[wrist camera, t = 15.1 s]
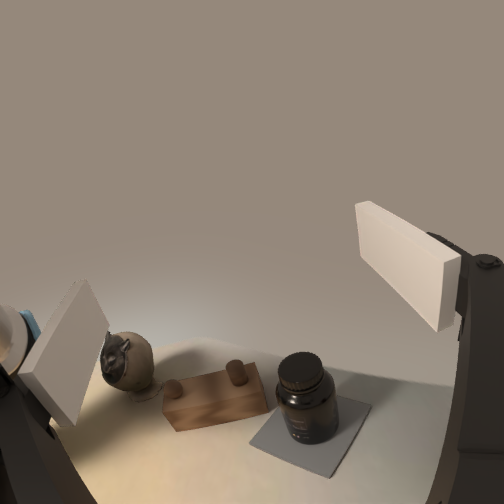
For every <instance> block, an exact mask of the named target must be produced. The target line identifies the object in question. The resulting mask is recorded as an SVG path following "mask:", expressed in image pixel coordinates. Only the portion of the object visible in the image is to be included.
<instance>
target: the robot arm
mask: <svg viewBox="0 0 504 504" xmlns="http://www.w3.org/2000/svg"><path fill="white" fill-rule="evenodd" d="M355 208H356V217H357V225H358V235H359V244H360V255H361V257H362V258H363V259H364V260H365V261H366V262H367V263H368V264H369V265H370V266H371V267H372V268H373V269H374V270H375V271H376V272H377V273H378V274H380V276H381V277H383V278H384V279H385V280H386V281H387V282H388V283H389V284H390V285H391V286H392V287H393V288H394V289H395V290H396V291H397V292H398V293H399V294H400V295H401V296H402V297H403V298H404V299H405V300H406V301H407V302H408V303H409V304H410V305H411V306H412V307H413V308H414V309H415V310H416V311H417V312H418V313H419V314H420V316H421V317H422V318H423V319H424V320H426V322H427V323H428V324H429V325H430V326H431V327H432V328H433V329H434V330H435V331H436V332H440V331H442V330H444V329H446V328H448V327H450V326H452V325H453V324H454V317H455V311H457V312H458V313H459V314H460V315H461V316H462V320H461V325H460V331H459V336H458V341H459V353H458V363H457V371H456V379H455V386H454V393H453V399H452V405H451V411H450V416H449V422H448V426H447V431H446V436H445V440H444V444H443V449H442V453H441V457H440V460H439V464H438V468H437V471H436V475H435V478H434V481H433V485H432V488H431V491H430V494H429V497H428V499H427V501H426V504H504V264H503V262H502V261H501V260H500V259H499V258H497V257H495V256H492V255H488V254H479V255H476V256H472V255H471V254H469V253H467V252H466V251H464V250H463V249H461V248H459V247H458V246H456V245H454V244H453V243H451V242H450V241H447V240H446V239H445V238H443V237H441V236H440V235H436V234H433V233H430V232H427V233H425V232H423V231H421V230H419V229H418V228H416V227H415V226H413V225H411V224H410V223H408V222H406V221H404V220H403V219H401V218H399V217H398V216H396V215H394V214H392V213H391V212H389V211H387V210H385V209H383V208H382V207H380V206H378V205H376V204H374V203H373V202H371V201H365V202H361V203H358V204H355ZM108 328H109V323H108V321H107V319H106V317H105V315H104V313H103V311H102V309H101V307H100V306H99V304H98V301H97V299H96V297H95V295H94V293H93V291H92V289H91V287H90V285H89V283H88V281H87V279H84V280H81V281H78V282H74V284H73V285H72V286H71V288H70V289H69V291H68V292H67V294H66V295H65V297H64V298H63V300H62V301H61V303H60V304H59V306H58V307H57V309H56V310H55V312H54V313H53V315H52V317H51V318H50V320H49V321H48V323H47V324H46V326H45V327H44V329H43V331H42V332H41V331H40V329H39V327H38V325H37V323H36V321H35V319H34V317H33V315H32V313H31V312H30V311H29V310H25V311H20V312H19V313H18V312H17V311H16V310H15V309H14V308H12V307H10V306H8V305H5V304H0V504H97V502H96V501H95V499H94V498H93V496H92V495H91V493H90V492H89V490H88V488H87V487H86V485H85V484H84V482H83V481H82V479H81V477H80V476H79V474H78V472H77V471H76V469H75V467H74V466H73V464H72V462H71V460H70V459H69V457H68V455H67V453H66V451H65V449H64V448H63V446H62V444H61V442H60V440H59V438H58V436H57V434H56V432H55V430H54V429H53V428H52V427H51V426H50V425H49V422H50V419H51V417H52V418H53V419H54V420H55V421H56V422H57V423H58V424H59V426H60V427H63V426H76V422H77V419H78V416H79V412H80V409H81V406H82V403H83V399H84V396H85V393H86V390H87V387H88V384H89V381H90V378H91V375H92V372H93V369H94V366H95V363H96V361H97V358H98V355H99V352H100V349H101V347H102V344H103V341H104V338H105V336H106V333H107V331H108Z"/></svg>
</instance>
